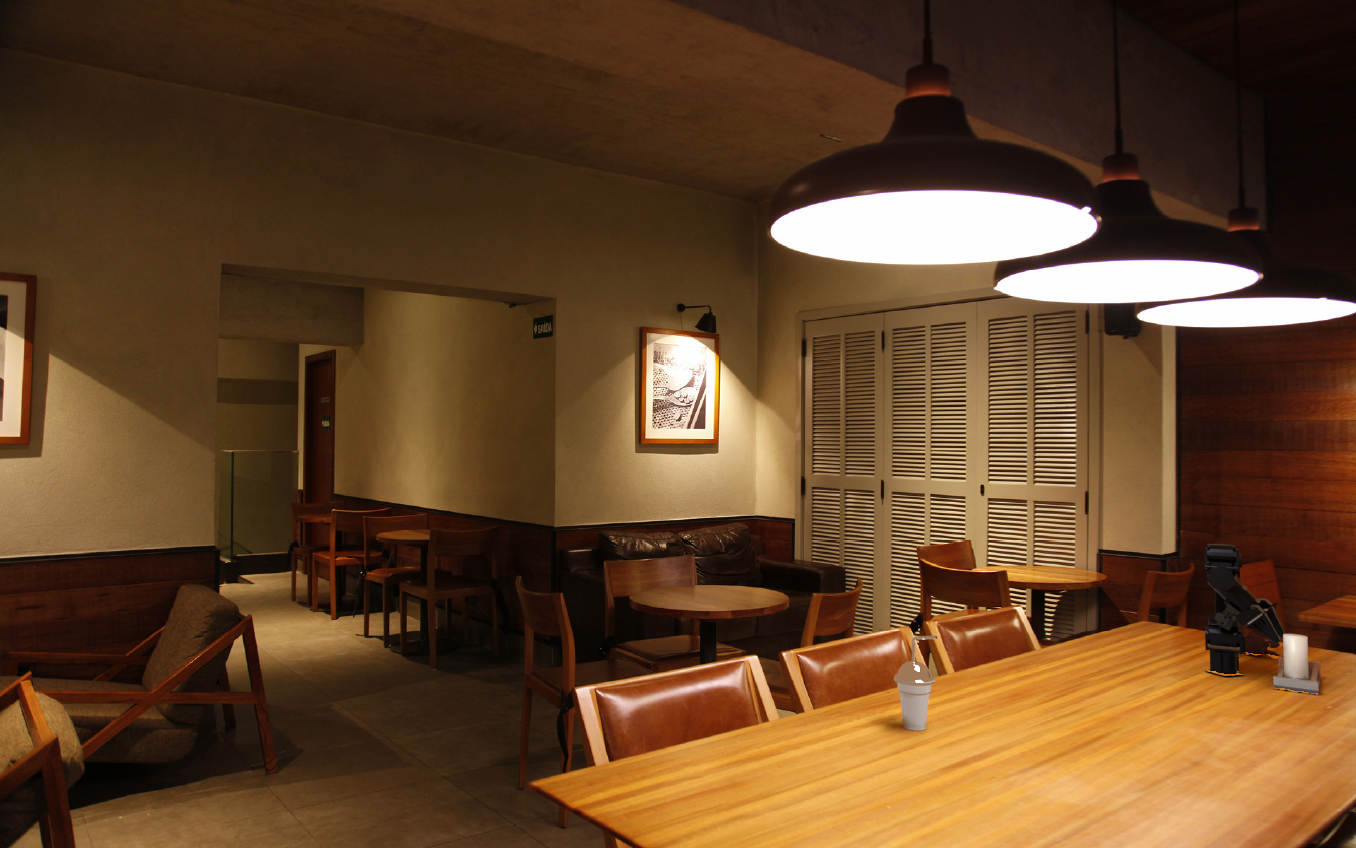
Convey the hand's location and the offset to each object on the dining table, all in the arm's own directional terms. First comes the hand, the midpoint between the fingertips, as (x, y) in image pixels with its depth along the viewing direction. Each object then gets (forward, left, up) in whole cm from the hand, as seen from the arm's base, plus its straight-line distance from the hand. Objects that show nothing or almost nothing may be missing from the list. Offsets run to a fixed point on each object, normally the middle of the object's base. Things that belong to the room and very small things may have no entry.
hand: (1281, 639), depth 218 cm
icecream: (+26, +30, -12) cm, 41 cm away
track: (+7, +1, -12) cm, 14 cm away
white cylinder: (+2, -2, -11) cm, 11 cm away
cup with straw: (-109, -5, -12) cm, 109 cm away
